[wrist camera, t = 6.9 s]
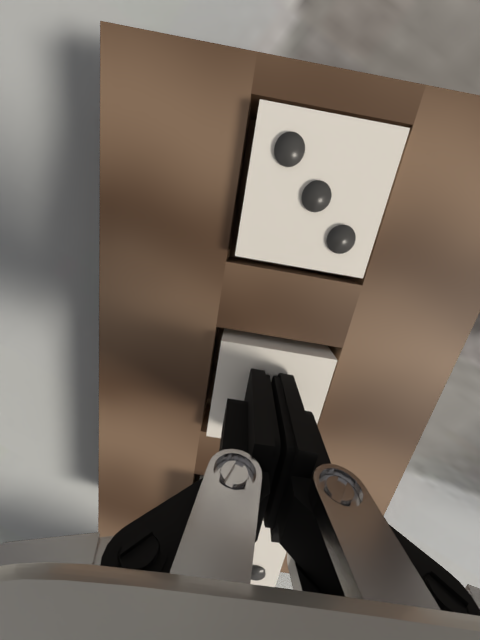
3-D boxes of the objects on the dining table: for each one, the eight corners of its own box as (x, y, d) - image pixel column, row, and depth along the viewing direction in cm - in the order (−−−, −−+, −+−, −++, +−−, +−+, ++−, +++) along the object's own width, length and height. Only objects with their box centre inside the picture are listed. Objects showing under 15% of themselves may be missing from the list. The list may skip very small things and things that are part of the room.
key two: (202, 462, 14) (193, 512, 11) (287, 475, 14) (295, 528, 11) (193, 522, 15) (182, 579, 13) (270, 534, 15) (274, 592, 13)
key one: (226, 319, 12) (221, 341, 10) (320, 335, 12) (338, 361, 10) (213, 400, 14) (205, 437, 11) (298, 414, 14) (308, 453, 11)
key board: (140, 78, 10) (100, 20, 8) (487, 144, 11) (573, 113, 8) (122, 493, 17) (98, 545, 15) (335, 525, 18) (352, 582, 15)
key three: (256, 130, 10) (260, 97, 8) (372, 152, 10) (412, 126, 8) (237, 250, 11) (234, 255, 9) (339, 268, 12) (364, 279, 9)
